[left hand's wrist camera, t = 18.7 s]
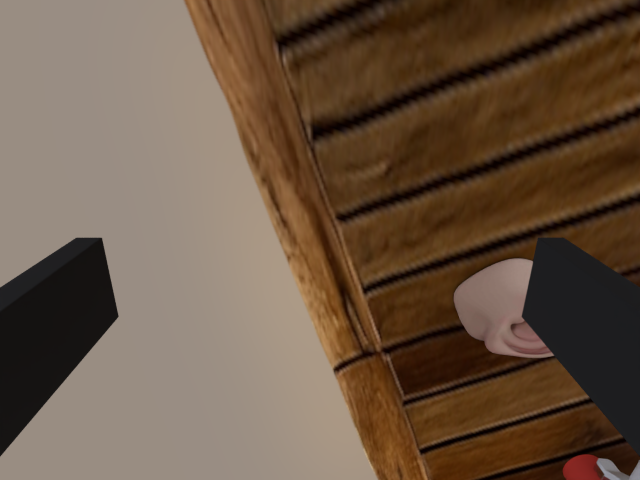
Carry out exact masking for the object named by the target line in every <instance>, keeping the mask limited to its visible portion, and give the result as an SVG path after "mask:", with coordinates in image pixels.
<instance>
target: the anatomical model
mask: <svg viewBox="0 0 640 480" xmlns="http://www.w3.org/2000/svg"><path fill="white" fill-rule="evenodd" d="M532 265H533V261H530V260H527V259H520V258H518V259H508V260H505V261H501V262H498V263H496V264H493V265H491V266H489V267H487V268H485V269H483V270H481V271H480V272H478V273H476V274H475V275H473V276H471V277H470V278H468V279H467V280H466V281H464V282H463V283H462V284H461V285H460V286H459V287H458V288H457V289H456V291H455V293H454V303H455V307H456V310H457V313H458V315H459V318H460V320H461V322H462V324H463V325H464V327H465V329H466V330H467V332H468V333H469V334H470V335H471V336H472V337H474V338H476V339H479V340H483V341H485V345H486V347H487V349H488V350H489V351H491V352H493V353H496V354H503V355H511V356H519V357H528V358H542V357H549V356H554V355H553V353H552V352H551V351H550V350H549V349H548V347H547V346H546V345H545V344H544V343H543V342H542V340H541V339H540V338H539V337H538V336H537V334H536V333H535V332H534V331H533V330H532V329H531V327H530V326H529V325H528V324H527V323H526V321H525V320H524V319H523V318H522V312H523V307H524V302H525V298H526V293H527V288H528V283H529V279H530V274H531V269H532Z"/></svg>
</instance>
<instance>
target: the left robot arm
mask: <svg viewBox="0 0 640 480" xmlns="http://www.w3.org/2000/svg"><path fill="white" fill-rule="evenodd" d="M117 318H118V312H117V307H116V302H115V298H114V293H113V288H112V283H111V279H110V274H109V269H108V265H107V260H106V255H105V250H104V246H103V241H102V238H75V239H74V240H72V241H71V242H69V243H68V244H66V245H65V246H63V247H62V248H60V249H59V250H57V251H55V252H54V253H52V254H51V255H49V256H48V257H46V258H45V259H43V260H42V261H40V262H39V263H37V264H36V265H34V266H32V267H31V268H29V269H28V270H26V271H25V272H23V273H22V274H20V275H19V276H17V277H16V278H14V279H13V280H11V281H10V282H8V283H7V284H5V285H3V286H2V287H0V456H1V455H2V454H3V453H4V451H5V450H6V449H7V448H8V447H9V445H10V444H11V443H12V442H13V441H14V440H15V438H16V437H17V436H18V435H19V434H20V432H21V431H22V430H23V429H24V428H25V427H26V425H27V424H28V423H29V422H30V421H31V419H32V418H33V417H34V416H35V415H36V414H37V412H38V411H39V410H40V409H41V408H42V407H43V405H44V404H45V403H46V402H47V400H48V399H49V398H50V397H51V396H52V395H53V393H54V392H55V391H56V390H57V389H58V388H59V386H60V385H61V384H62V383H63V382H64V381H65V379H66V378H67V377H68V376H69V375H70V373H71V372H72V371H73V370H74V369H75V368H76V366H77V365H78V364H79V363H80V362H81V360H82V359H83V358H84V357H85V356H86V354H87V353H88V352H89V351H90V350H91V349H92V347H93V346H94V345H95V344H96V343H97V341H98V340H99V339H100V338H101V337H102V336H103V334H104V333H105V332H106V331H107V330H108V328H109V327H110V326H111V325H112V324H113V323H114V321H115V320H116V319H117ZM522 318H523V319H524V320H525V321H526V323H527V324H528V325H529V326H530V327H531V329H532V330H533V331H534V332H535V333H536V334H537V336H538V337H539V338H540V339H541V340H542V342H543V343H544V344H545V345H546V346H547V347H548V349H549V350H550V351H551V352H552V353H553V355H554V356H555V357H556V358H557V359H558V360H559V362H560V363H561V364H562V365H563V366H564V368H565V369H566V370H567V371H568V372H569V373H570V375H571V376H572V377H573V378H574V379H575V381H576V382H577V383H578V384H579V385H580V386H581V388H582V389H583V390H584V391H585V392H586V394H587V395H588V396H589V397H590V398H591V399H592V401H593V402H594V403H595V404H596V405H597V407H598V408H599V409H600V410H601V411H602V412H603V414H604V415H605V416H606V417H607V418H608V420H609V421H610V422H611V423H612V424H613V425H614V427H615V428H616V429H617V430H618V431H619V432H620V434H621V435H622V436H623V437H624V438H625V440H626V441H627V442H628V443H629V444H630V445H631V447H632V448H633V449H634V450H635V451H636V453H637V454H638V455H639V456H640V287H638V286H637V285H635V284H634V283H632V282H630V281H629V280H627V279H626V278H624V277H623V276H621V275H620V274H618V273H617V272H615V271H614V270H612V269H611V268H609V267H608V266H606V265H604V264H603V263H601V262H600V261H598V260H597V259H595V258H594V257H592V256H591V255H589V254H588V253H586V252H585V251H583V250H582V249H580V248H578V247H577V246H575V245H574V244H572V243H571V242H569V241H568V240H566V239H565V238H538V241H537V246H536V250H535V255H534V260H533V265H532V269H531V274H530V279H529V283H528V288H527V293H526V298H525V302H524V307H523V312H522Z"/></svg>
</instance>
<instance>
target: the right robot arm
mask: <svg viewBox="0 0 640 480" xmlns="http://www.w3.org/2000/svg"><path fill="white" fill-rule="evenodd" d="M593 469H594V471H595V472H597V475H598V477H599V478H600V479H601V480H640V460H639V462H638V464H637V465H636V467H635V469H634V470H633V472H632V474H631V475H630V476H628V475H626V474H624V473H622V472H620V471H619V470H618V468H617V467H616V466H615V465H614V463H613V462H612V461H610V460H608V459H602V458H599V459H598V460H597V462H596V464H595V466H594V468H593Z"/></svg>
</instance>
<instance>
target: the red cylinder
mask: <svg viewBox="0 0 640 480" xmlns="http://www.w3.org/2000/svg"><path fill="white" fill-rule="evenodd" d="M598 459H599V458H598V457H596V456H594V455H588V454H585V455H579V456H576V457H574V458H572V459H570V460H569V461H568V462H567V463H566V464H565V466H564V468H563V475H564V477H565V478H566V480H601V479H600V478H599V477H598V475H597V472H595V471H594V469H593V468H594V466H595V464H596V462H597V460H598Z"/></svg>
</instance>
